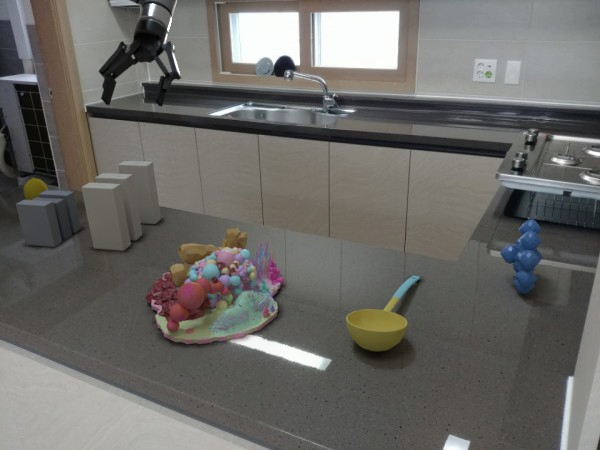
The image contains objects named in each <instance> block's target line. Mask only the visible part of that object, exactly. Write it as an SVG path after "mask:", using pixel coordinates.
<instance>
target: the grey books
mask: <svg viewBox="0 0 600 450" xmlns="http://www.w3.org/2000/svg"><path fill="white" fill-rule="evenodd" d="M39 197H40V198H39ZM39 197H36V198H34V199H32V200H26V199H22V200H20V201H19V202H17V203H15V206H16V207H15V208H16V212H17V216H18V218H19V222H20V226H21V230H22V234H23V238H24V242H25V245H26V246H37V247H49V248H56V247H57V246H58V245H60V244H62V242H63V241H66V240H67V239H68V238H70V237H72V236H73V234H76V233H78V232H79V231H80V230H81V229H82V224H81V220H80V215H79V210H78V206H77V205H78V204H77V199H76V196H75V192H74V191H73V190H71V191H70V190H54V189H53V190H51V189H48V190H46V191H44V192H42V193H40V194H39Z"/></svg>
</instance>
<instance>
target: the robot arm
mask: <svg viewBox="0 0 600 450" xmlns="http://www.w3.org/2000/svg"><path fill="white" fill-rule="evenodd" d="M129 1H130V2H132V3H135V4H136V5H139V6H141V9H140V12H139V15H138V19H137V23H136V26H135V29H134V32H133V41H132V42H131V43H130V44H128V43H125V42H124V41H120V42H119V43H118V46H117V48H116V49H115V51H114V52H113V53H112V54H111V56H109V58H108V59H107V60H106V61H105V63H103V64H102V66H101V67H100V68H99V70H98V72H99V74H100V76H102V78H103V83H102V85H101V87H102V89H103V90H102V94H101V97H100V99H101V100H102V102H103V103H104V104H105V105H106V106H110V105H111V102H112V99H113V95H114V92H115V88H116V86H117V80H116V79H118V78H119V77H120V76H121V75H122V74H123V73H125V72H126V71H127V70H129V68H131V67H132V66H136V65H137V64H138V63H148V64H149V63H150V64H151V63H153V62H156V64H157V66H158V67H159V69H160V70H161V72H162V74H163V75H160V77H159V81H158V85H157V87H156V93H155V95H154V101H155V103H156V104H157V105H158V107H163V105H164V102H165V97H166V93H169V92H170V90H171V86H172V84H173V83H172V82H173V81H175V80H177V81H179V80H181V79H182V75H181V72H180V69H179V65H178V61H177V58H176V47H175V46H174V44H173V43H172V41H170V40H169V41H167V38H168V33H169V31H170V27H171V23H172V19H173V16H174V12H175V9H176V6H177V3H178V0H129ZM164 52H165V53H166V55H167V59H168V63H169V66H170V70H171V71H169V70H168V68H167V67H166V65H165V64H164V62H163V61H162V59H161V58H160V56H161V55H163V53H164ZM133 57H134V58H133Z"/></svg>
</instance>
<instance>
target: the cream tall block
mask: <svg viewBox="0 0 600 450" xmlns="http://www.w3.org/2000/svg"><path fill="white" fill-rule="evenodd" d="M117 166H118V174H132V175H133V180H134V186H135V193H136V199H137V205H138V211H139V217H140V223H141V224H145V225H147V224H148V225H156V224H157V223H159V222H160V221H161V220H162V216H161V208H160V202H159V196H158V189H157V188H158V187H157V181H156V174H155V166H154V162H153V161H139V160H137V161H136V160H124V161H122V162H120V163H119V164H118V165H117Z"/></svg>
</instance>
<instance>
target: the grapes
mask: <svg viewBox="0 0 600 450" xmlns="http://www.w3.org/2000/svg"><path fill="white" fill-rule="evenodd" d="M518 231H519V233H520V234H521V235H520V237H519V238H518V239H517V240H516V241H515V242H514V243H515V245H514V244H508V245H506V246H505V247H504V248H503V249H502V250H501V251H500V252H499V255H500V256H501V257H502V259H503V261H504V262H505V263H507V264H509V265H511V264H512V269H513V271H514V272H515V274H514V275H513V279H514V282H513V285H514V287H515V288H516V290H517V292H519V293H520V294H523V295H526V294H528V293H530V292H531V290H533V289H534V288H535V287H536V284H535V283H536V282H537V280H538V278H537V276H536V274H535V273H534V271H535V269H536V267H537V266H538V265H539V263H541V260H543V259H544V258H543V257H544V256H543V255H542V254H541V252H540V251H539V250H538V249H537V248H538V247H539V246H540V245H541V244H542V242H543V241H542V239H541V238H540V236H539V234H540V232H542V228H541V226H540V224H538V222H537V221H536V220H535V219H533V218H530V219H527V220H526V221H524V222H523V224H522V225H520V227H519V228H518Z"/></svg>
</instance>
